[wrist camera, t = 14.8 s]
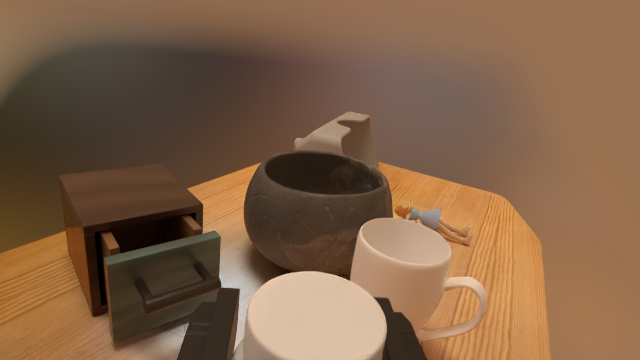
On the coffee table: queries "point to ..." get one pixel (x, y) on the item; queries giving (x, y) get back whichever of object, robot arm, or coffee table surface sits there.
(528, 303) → the coffee table surface
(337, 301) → the pill bottle
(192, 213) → the cabinet
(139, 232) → the drawer
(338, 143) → the beige notched block
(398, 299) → the mug
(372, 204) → the bowl
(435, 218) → the fairy figurine
